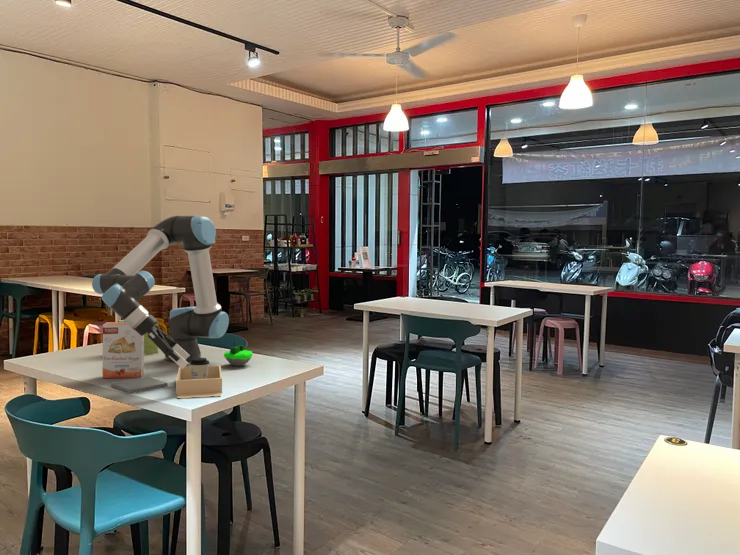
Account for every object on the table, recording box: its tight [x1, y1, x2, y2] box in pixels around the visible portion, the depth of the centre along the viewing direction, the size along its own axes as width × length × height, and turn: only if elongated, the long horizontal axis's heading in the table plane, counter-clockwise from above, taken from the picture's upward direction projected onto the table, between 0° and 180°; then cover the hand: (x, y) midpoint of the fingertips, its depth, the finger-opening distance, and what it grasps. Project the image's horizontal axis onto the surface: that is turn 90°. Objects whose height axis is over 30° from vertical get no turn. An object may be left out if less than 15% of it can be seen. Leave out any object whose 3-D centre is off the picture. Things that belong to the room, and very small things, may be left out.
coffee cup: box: [189, 357, 210, 379], centre depth 201 cm, size 7×7×10 cm
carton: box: [175, 365, 223, 399], centre depth 201 cm, size 15×31×5 cm, turn 17°
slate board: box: [110, 375, 169, 394], centre depth 199 cm, size 14×14×1 cm
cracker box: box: [102, 321, 145, 379], centre depth 213 cm, size 14×6×21 cm, turn 103°
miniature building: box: [223, 341, 254, 367], centre depth 237 cm, size 12×12×11 cm
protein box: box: [117, 319, 159, 355], centre depth 257 cm, size 10×15×16 cm
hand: (186, 362), depth 199 cm, fingers open, 13 cm apart
